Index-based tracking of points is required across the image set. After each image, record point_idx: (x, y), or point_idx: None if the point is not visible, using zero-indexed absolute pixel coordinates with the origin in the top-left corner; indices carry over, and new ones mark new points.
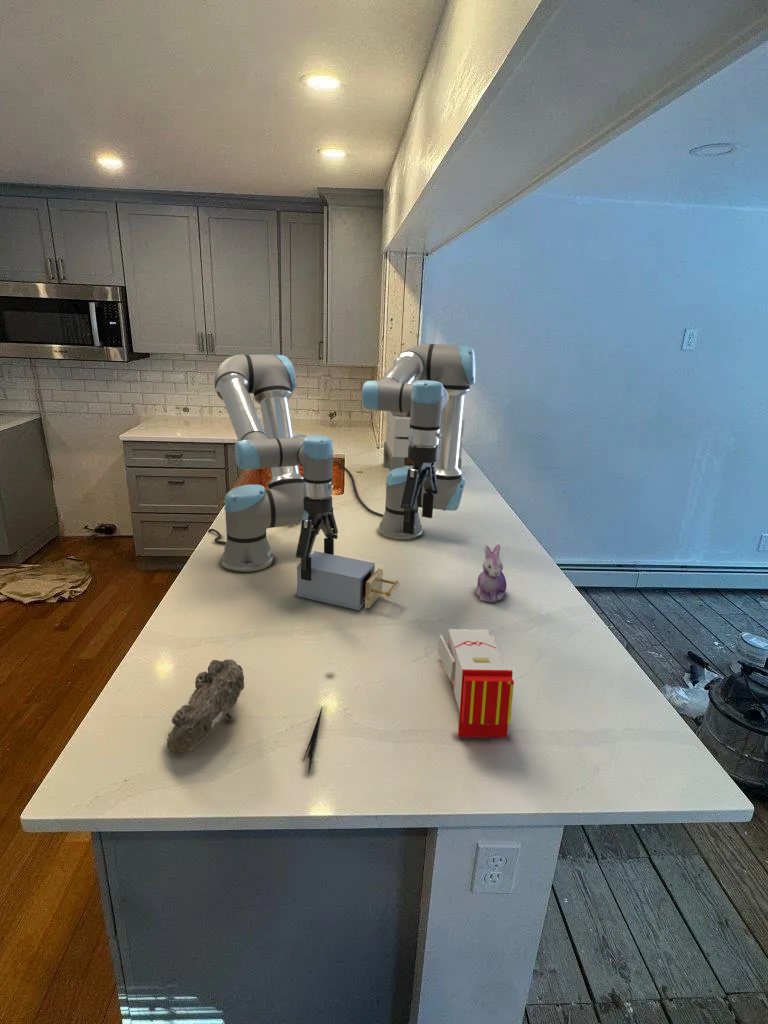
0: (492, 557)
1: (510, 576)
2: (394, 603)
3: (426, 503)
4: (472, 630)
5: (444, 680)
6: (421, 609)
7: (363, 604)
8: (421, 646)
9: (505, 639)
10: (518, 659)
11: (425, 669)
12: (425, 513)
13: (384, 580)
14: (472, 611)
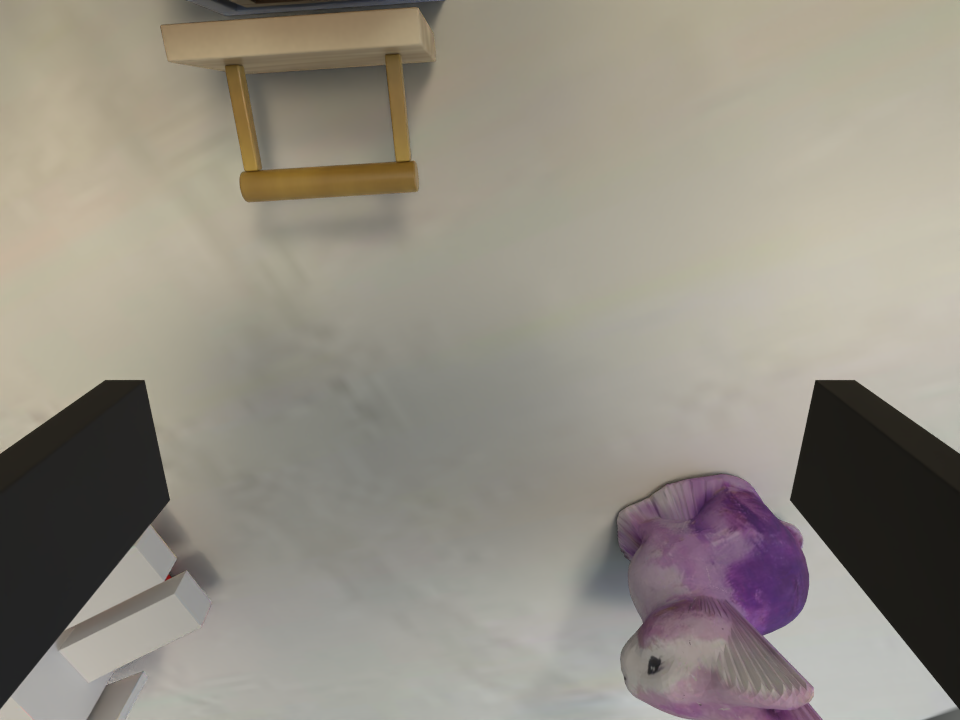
0: (709, 704)
1: None
2: None
3: (942, 562)
4: (17, 714)
5: None
6: (416, 309)
7: (287, 10)
8: None
9: (372, 634)
10: (278, 683)
11: None
12: (834, 452)
13: (388, 87)
14: (511, 499)
